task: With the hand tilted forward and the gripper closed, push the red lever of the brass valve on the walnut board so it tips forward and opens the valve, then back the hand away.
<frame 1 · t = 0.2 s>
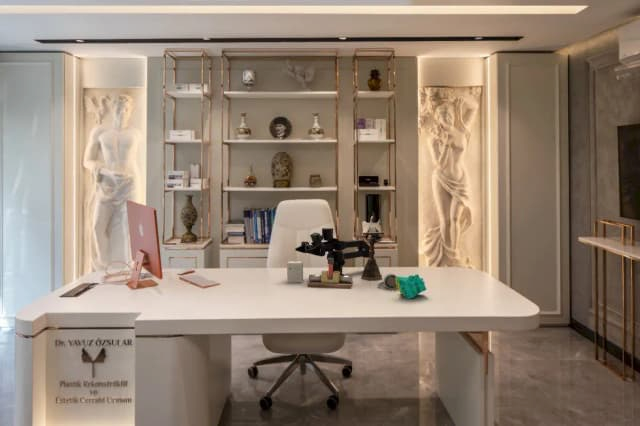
hand: (300, 250, 262), 16 cm above the table, tool horizontal, fingers open, 9 cm apart
teal lumpy block: (410, 297, 228), on the table
ceramic mug: (388, 288, 247), on the table
bird statue: (373, 279, 268), on the table
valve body: (330, 277, 252), on the walnut board, point 4 cm above the table
lever: (330, 268, 252), point 8 cm above the table, hinge at 0.0°
walnut board: (330, 285, 253), on the table
small box: (295, 281, 262), on the table
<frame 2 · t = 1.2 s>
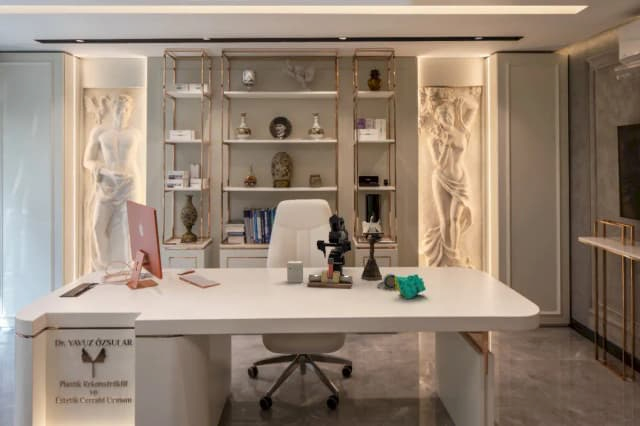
hand: (332, 257, 261), 13 cm above the table, tool tilted 45°, fingers open, 8 cm apart
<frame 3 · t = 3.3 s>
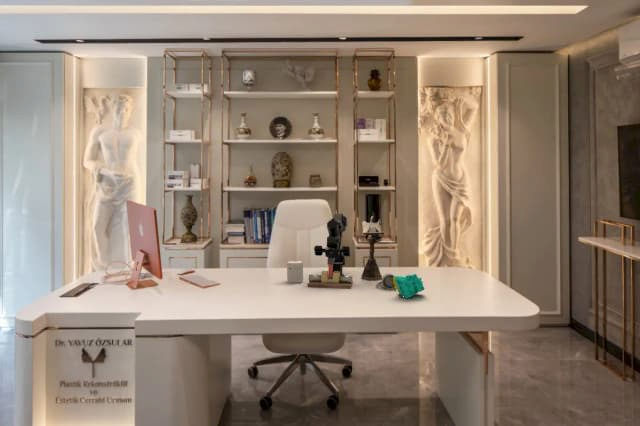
hand: (330, 263, 252), 11 cm above the table, tool tilted 45°, fingers closed, pressing on lever
lever: (330, 269, 252), point 8 cm above the table, hinge at 3.9°, touching gripper
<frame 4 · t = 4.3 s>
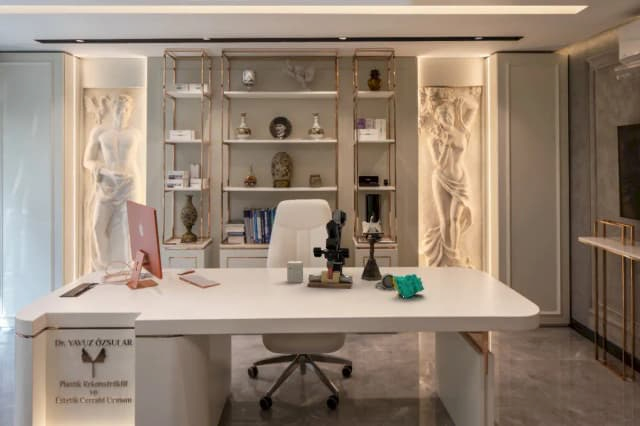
hand: (330, 266, 249), 10 cm above the table, tool tilted 45°, fingers closed, pressing on lever
lever: (330, 270, 250), point 8 cm above the table, hinge at 29.4°, touching gripper
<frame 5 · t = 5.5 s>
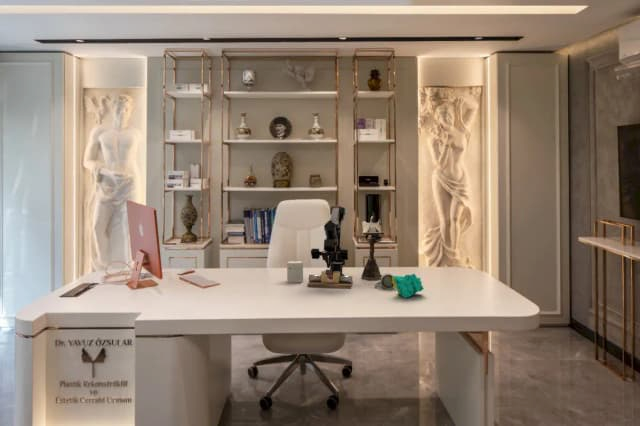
hand: (328, 267, 242), 11 cm above the table, tool tilted 45°, fingers closed
lever: (329, 274, 248), point 6 cm above the table, hinge at 60.6°
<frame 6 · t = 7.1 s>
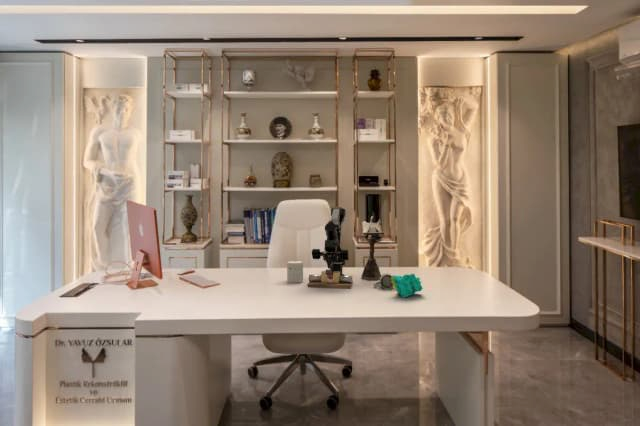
hand: (328, 268, 245), 10 cm above the table, tool tilted 45°, fingers closed
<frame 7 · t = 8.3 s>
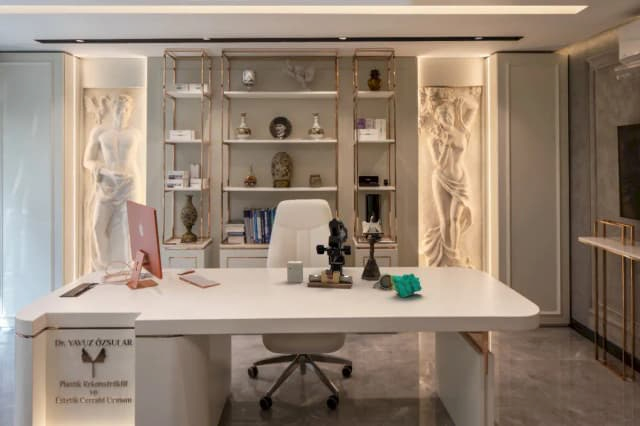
hand: (332, 262, 259), 10 cm above the table, tool tilted 45°, fingers closed
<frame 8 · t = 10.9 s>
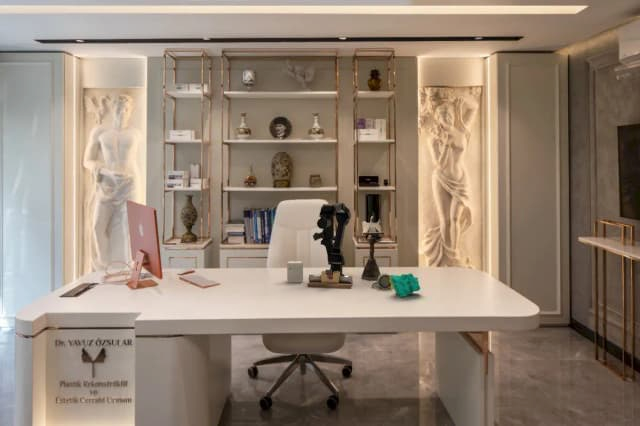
hand: (328, 256, 265), 13 cm above the table, tool pointing down, fingers closed
at the end: lever at +61° (first picture: +0°) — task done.
